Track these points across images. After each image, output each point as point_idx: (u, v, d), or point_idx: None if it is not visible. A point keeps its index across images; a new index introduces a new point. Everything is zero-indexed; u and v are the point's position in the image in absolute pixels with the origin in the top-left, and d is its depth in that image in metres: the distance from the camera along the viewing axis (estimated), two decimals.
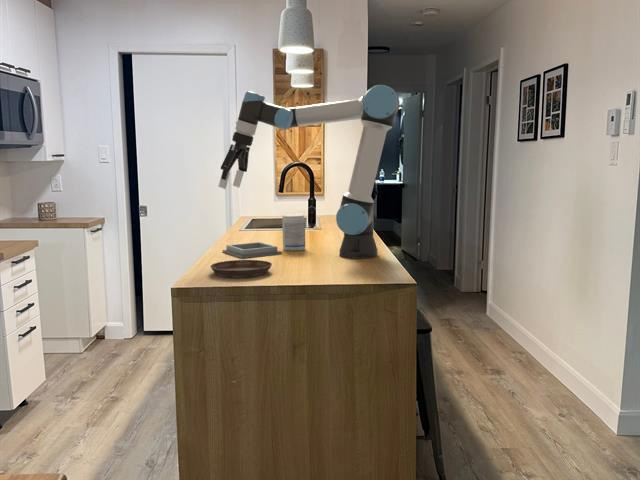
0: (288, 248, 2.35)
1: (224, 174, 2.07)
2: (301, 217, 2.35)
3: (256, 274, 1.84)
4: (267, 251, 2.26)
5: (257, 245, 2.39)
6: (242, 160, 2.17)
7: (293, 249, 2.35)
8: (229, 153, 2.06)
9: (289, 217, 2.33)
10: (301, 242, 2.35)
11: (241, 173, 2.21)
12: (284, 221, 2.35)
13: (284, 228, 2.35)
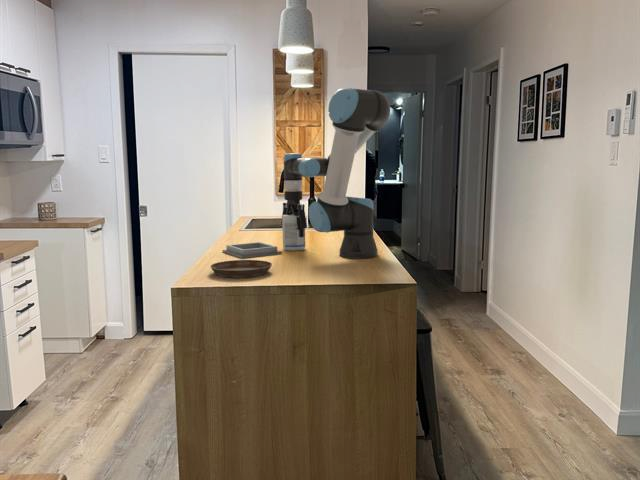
0: (288, 248, 2.35)
1: None
2: None
3: (256, 274, 1.84)
4: (267, 251, 2.26)
5: (257, 245, 2.39)
6: None
7: (293, 249, 2.35)
8: None
9: (289, 217, 2.33)
10: None
11: None
12: (284, 221, 2.35)
13: (284, 228, 2.35)
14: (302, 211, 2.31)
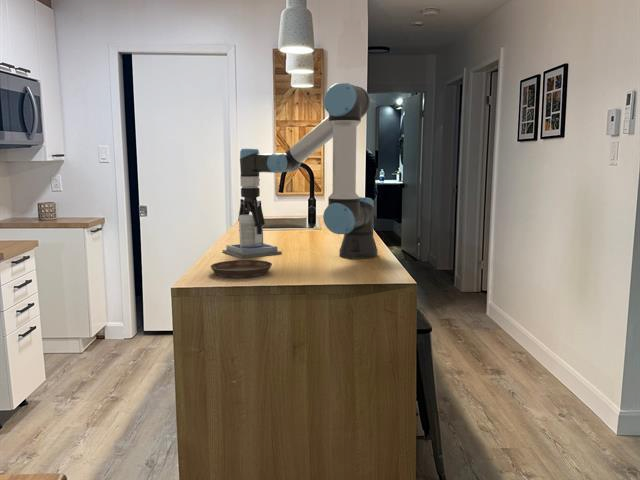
0: None
1: None
2: None
3: (256, 274, 1.84)
4: (267, 251, 2.26)
5: None
6: None
7: None
8: None
9: (245, 217, 2.24)
10: (258, 243, 2.27)
11: None
12: (240, 221, 2.26)
13: (240, 228, 2.27)
14: (259, 207, 2.22)
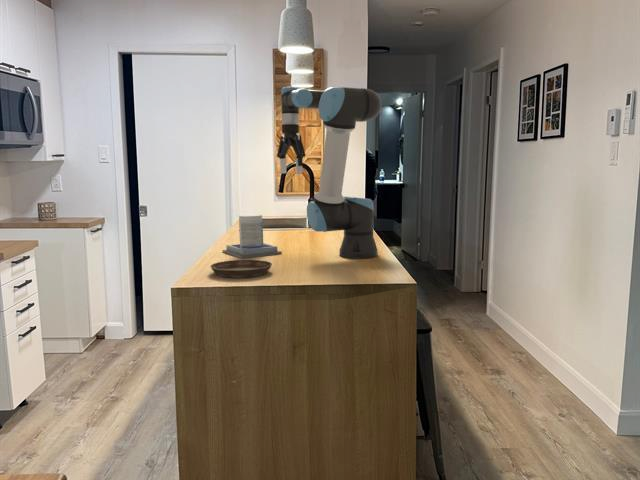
0: None
1: None
2: (258, 217, 2.26)
3: (256, 274, 1.84)
4: (267, 251, 2.26)
5: None
6: None
7: None
8: None
9: (245, 217, 2.24)
10: (258, 243, 2.27)
11: None
12: (240, 221, 2.26)
13: (240, 228, 2.27)
14: (299, 141, 2.38)
